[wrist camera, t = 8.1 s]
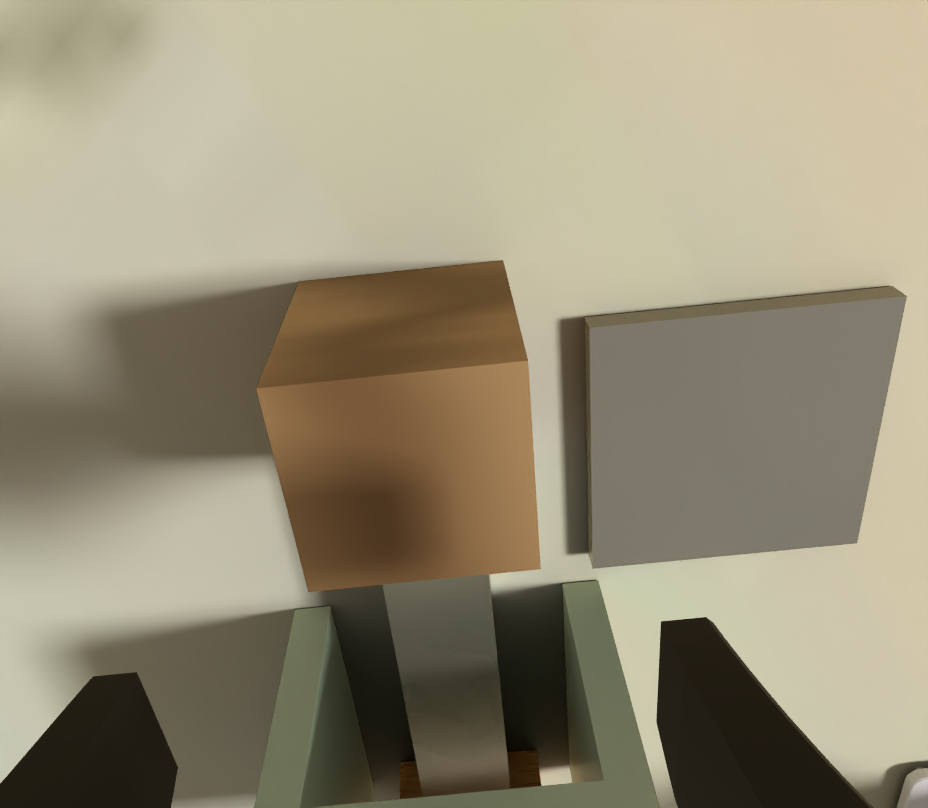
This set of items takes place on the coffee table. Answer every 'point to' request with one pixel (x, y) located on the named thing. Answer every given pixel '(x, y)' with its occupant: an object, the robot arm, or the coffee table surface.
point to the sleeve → (351, 790)
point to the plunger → (453, 689)
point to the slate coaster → (735, 424)
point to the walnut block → (404, 427)
